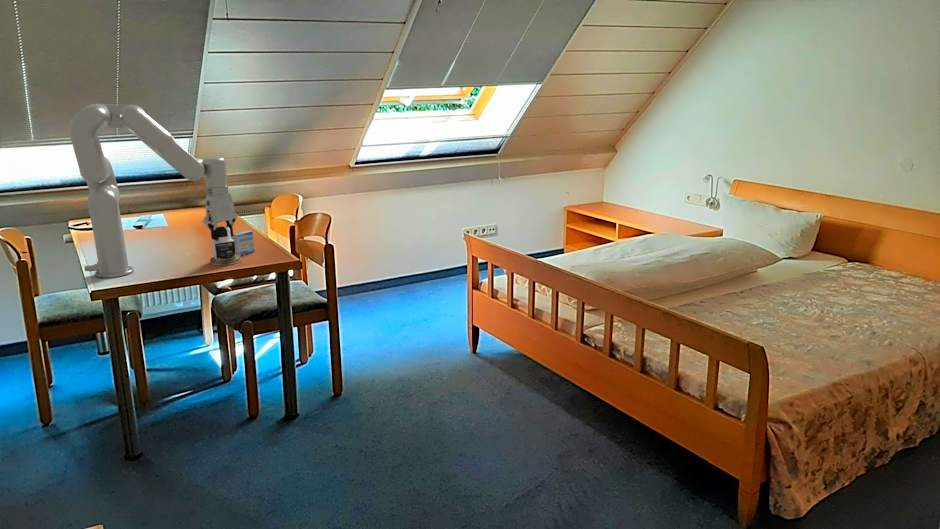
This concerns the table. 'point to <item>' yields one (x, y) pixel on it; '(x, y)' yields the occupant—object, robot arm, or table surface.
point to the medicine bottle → (223, 245)
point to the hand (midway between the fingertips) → (222, 237)
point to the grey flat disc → (225, 261)
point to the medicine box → (243, 242)
